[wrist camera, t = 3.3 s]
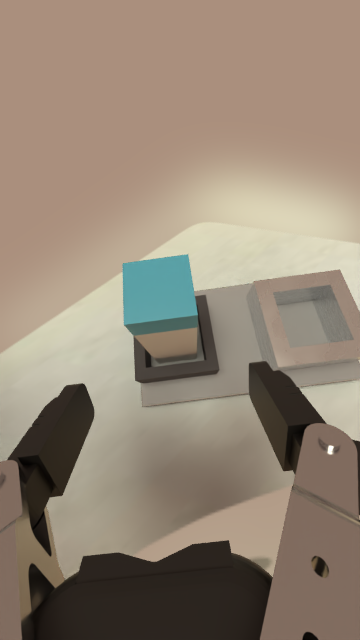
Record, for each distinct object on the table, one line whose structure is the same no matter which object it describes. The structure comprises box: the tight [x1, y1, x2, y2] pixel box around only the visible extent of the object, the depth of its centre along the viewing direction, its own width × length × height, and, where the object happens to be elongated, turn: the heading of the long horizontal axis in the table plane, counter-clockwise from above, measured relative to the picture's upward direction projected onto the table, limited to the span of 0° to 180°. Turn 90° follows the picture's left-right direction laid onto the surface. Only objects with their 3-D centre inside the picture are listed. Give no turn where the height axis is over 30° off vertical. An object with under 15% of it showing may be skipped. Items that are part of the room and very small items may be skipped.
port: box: [246, 270, 360, 371], centre depth 22 cm, size 9×9×4 cm
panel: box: [141, 283, 360, 407], centre depth 24 cm, size 22×12×1 cm, turn 97°
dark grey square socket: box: [134, 295, 220, 383], centre depth 22 cm, size 8×8×3 cm
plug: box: [123, 254, 198, 364], centre depth 18 cm, size 4×4×12 cm
